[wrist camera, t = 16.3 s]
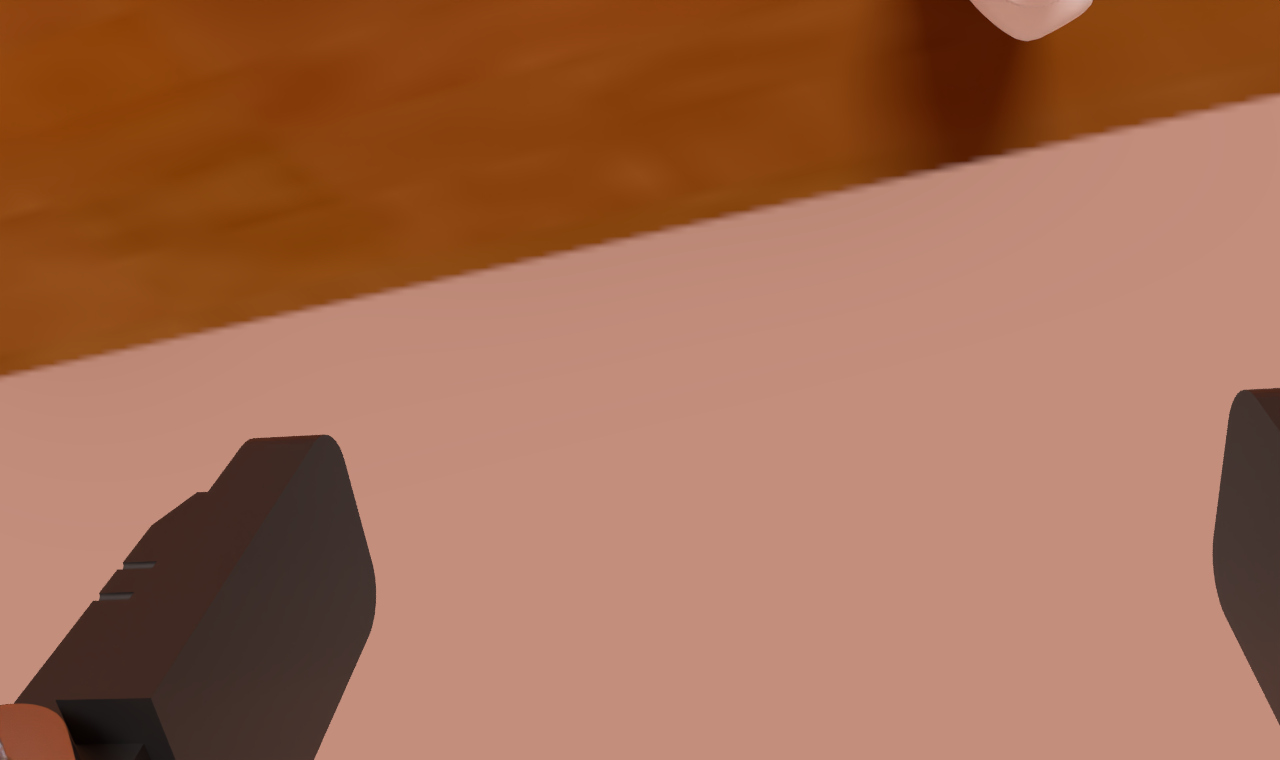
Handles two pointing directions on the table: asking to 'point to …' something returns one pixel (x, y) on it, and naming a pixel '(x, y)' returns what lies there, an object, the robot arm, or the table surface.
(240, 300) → the table surface
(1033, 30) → the eye dropper bottle
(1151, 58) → the table surface
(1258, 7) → the table surface
